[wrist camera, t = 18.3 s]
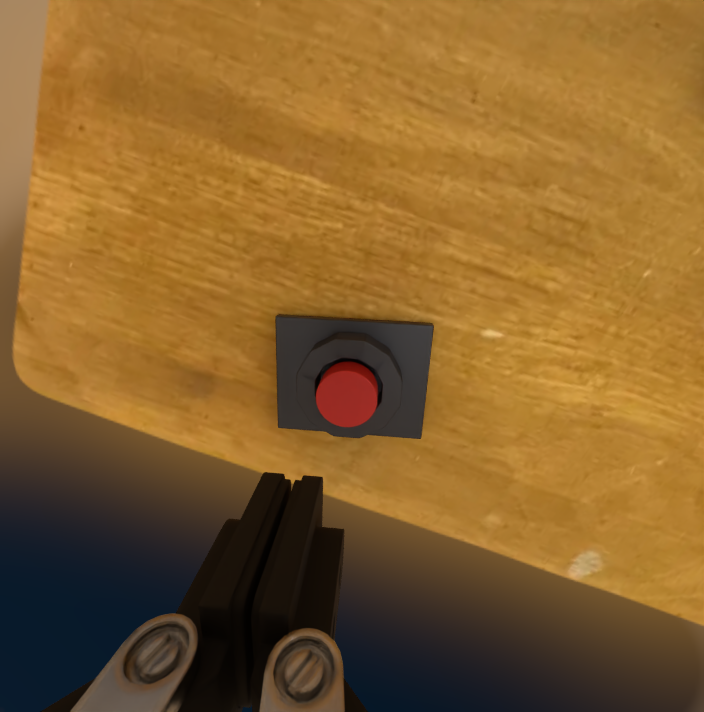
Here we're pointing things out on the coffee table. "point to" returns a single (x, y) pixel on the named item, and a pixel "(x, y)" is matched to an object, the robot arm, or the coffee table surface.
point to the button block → (361, 345)
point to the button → (347, 394)
